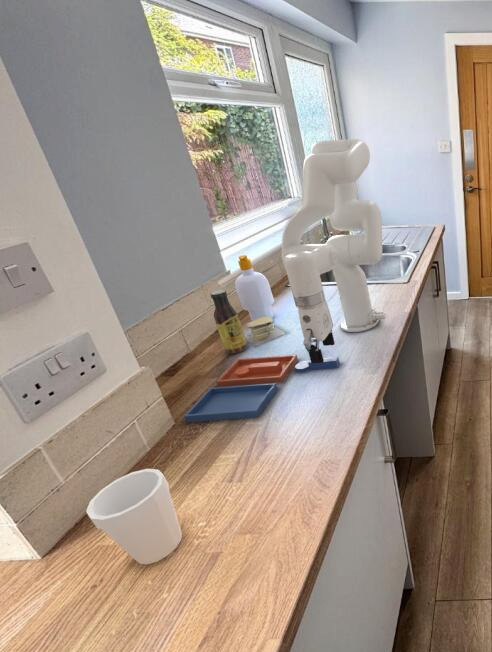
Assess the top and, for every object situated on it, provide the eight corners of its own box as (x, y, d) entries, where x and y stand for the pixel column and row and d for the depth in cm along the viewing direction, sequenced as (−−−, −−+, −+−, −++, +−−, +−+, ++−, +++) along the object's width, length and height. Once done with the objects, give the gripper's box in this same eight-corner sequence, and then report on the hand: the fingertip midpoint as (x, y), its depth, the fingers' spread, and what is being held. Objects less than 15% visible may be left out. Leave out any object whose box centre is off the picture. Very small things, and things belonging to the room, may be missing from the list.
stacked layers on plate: (256, 346, 130) (250, 331, 128) (243, 338, 135) (238, 324, 133) (286, 333, 137) (281, 318, 135) (273, 326, 142) (269, 312, 140)
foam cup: (150, 523, 73) (118, 471, 67) (203, 518, 73) (176, 465, 68) (109, 577, 64) (69, 523, 59) (170, 571, 65) (135, 516, 59)
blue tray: (278, 388, 108) (276, 382, 108) (258, 417, 98) (256, 410, 97) (213, 393, 108) (210, 387, 107) (186, 422, 98) (183, 416, 97)
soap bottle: (247, 327, 142) (224, 263, 132) (248, 316, 151) (226, 255, 140) (279, 320, 146) (259, 257, 136) (278, 309, 155) (259, 249, 144)
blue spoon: (341, 361, 119) (339, 354, 118) (336, 370, 115) (334, 362, 114) (299, 364, 119) (297, 357, 118) (293, 373, 115) (291, 366, 114)
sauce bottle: (238, 355, 125) (216, 297, 117) (221, 354, 126) (198, 296, 118) (253, 344, 131) (234, 288, 123) (237, 343, 132) (216, 287, 124)
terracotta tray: (298, 360, 121) (296, 354, 120) (282, 382, 111) (280, 376, 110) (240, 364, 120) (237, 358, 120) (218, 387, 110) (216, 381, 109)
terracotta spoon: (283, 366, 118) (281, 359, 116) (277, 375, 114) (274, 367, 113) (241, 369, 117) (238, 362, 116) (233, 378, 113) (230, 371, 112)
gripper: (312, 310, 100) (327, 369, 107) (333, 285, 116) (345, 338, 123) (281, 312, 100) (298, 371, 107) (307, 287, 115) (320, 339, 122)
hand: (323, 353), depth 115 cm, fingers open, 9 cm apart
